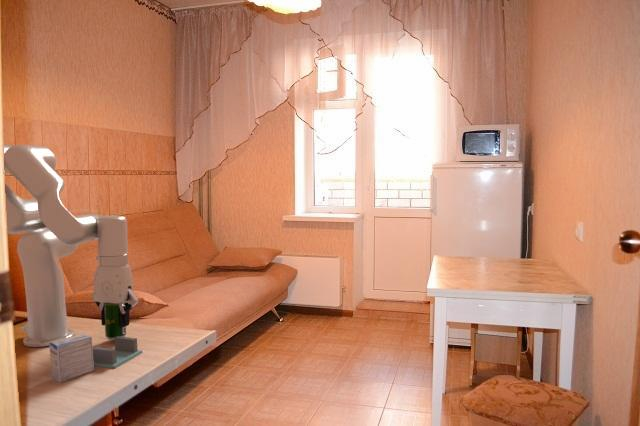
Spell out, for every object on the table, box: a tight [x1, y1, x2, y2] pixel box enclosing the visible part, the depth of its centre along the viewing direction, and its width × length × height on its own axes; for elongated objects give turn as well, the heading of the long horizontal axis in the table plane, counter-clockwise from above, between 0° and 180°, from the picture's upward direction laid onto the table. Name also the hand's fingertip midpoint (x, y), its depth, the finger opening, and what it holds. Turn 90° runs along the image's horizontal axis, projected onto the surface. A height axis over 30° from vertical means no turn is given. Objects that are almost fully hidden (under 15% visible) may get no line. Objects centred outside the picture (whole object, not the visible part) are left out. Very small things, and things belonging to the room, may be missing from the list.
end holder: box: [93, 336, 143, 369], centre depth 123 cm, size 8×10×4 cm
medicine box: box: [49, 332, 95, 384], centre depth 113 cm, size 8×4×9 cm, turn 141°
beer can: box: [104, 303, 127, 341], centre depth 135 cm, size 5×5×12 cm
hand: (115, 324), depth 135 cm, fingers closed on beer can, 5 cm apart
